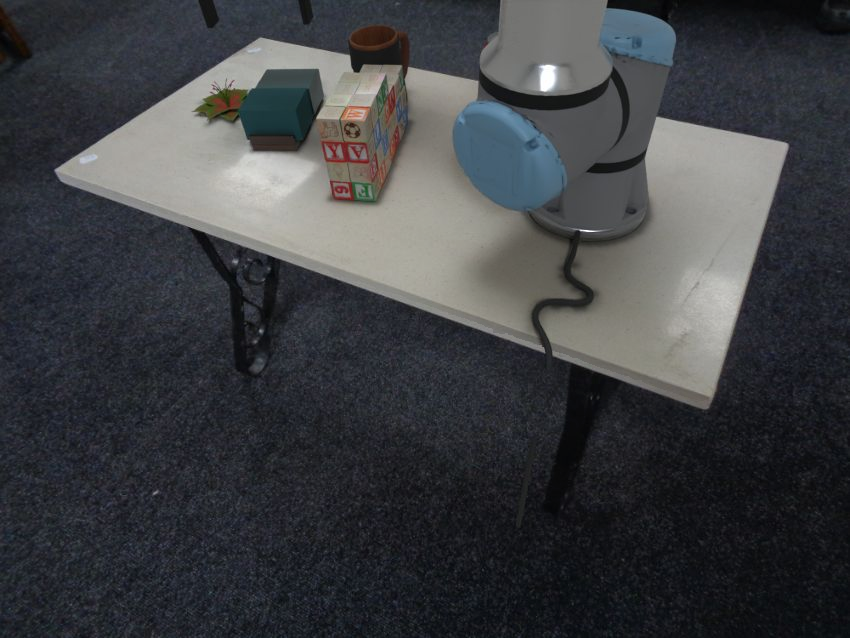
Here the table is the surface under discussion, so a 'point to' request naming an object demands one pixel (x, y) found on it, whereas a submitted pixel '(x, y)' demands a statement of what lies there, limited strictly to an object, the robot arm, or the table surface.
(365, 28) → the mug
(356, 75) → the stack of blocks
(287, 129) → the block
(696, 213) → the table surface
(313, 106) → the teal lidded box
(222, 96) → the lily flower
